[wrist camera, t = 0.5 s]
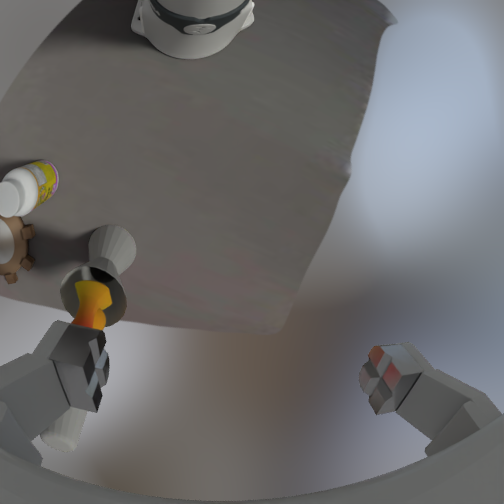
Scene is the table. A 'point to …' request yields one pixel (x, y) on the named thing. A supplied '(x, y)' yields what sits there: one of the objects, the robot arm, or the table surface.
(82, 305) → the lava lamp
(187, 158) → the table surface
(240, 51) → the table surface
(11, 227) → the gear platform
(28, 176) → the supplement bottle
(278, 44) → the table surface
